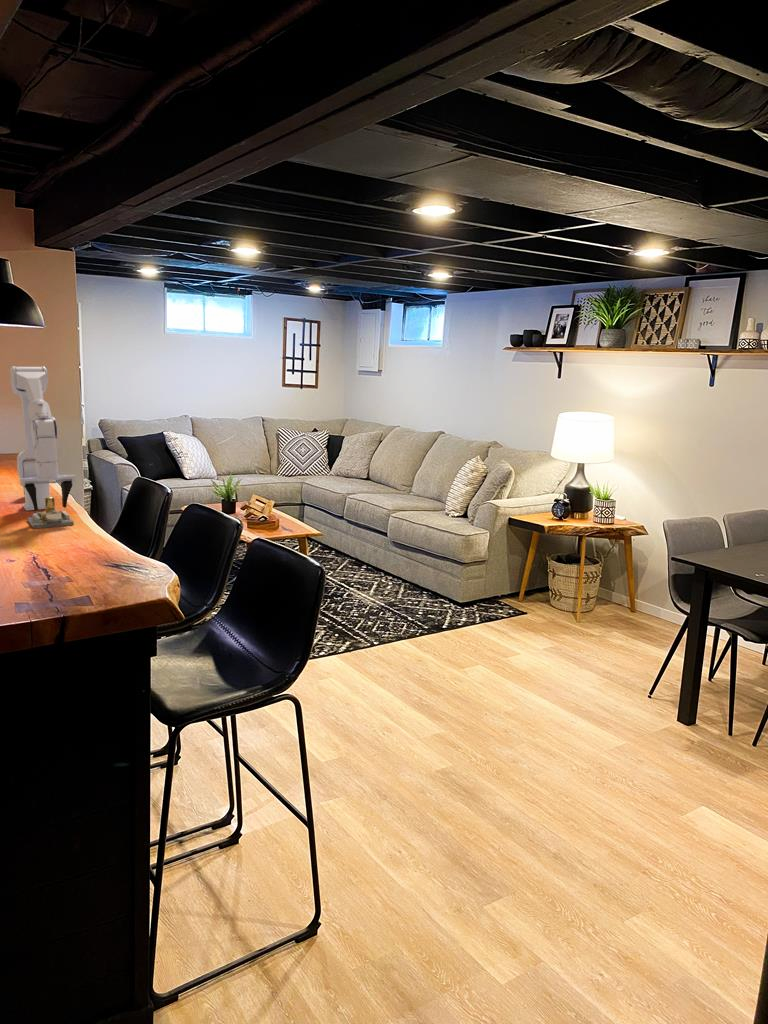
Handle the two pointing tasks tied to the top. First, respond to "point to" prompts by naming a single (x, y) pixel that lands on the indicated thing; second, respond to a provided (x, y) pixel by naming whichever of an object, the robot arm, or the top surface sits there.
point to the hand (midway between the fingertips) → (50, 508)
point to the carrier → (50, 519)
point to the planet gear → (48, 506)
